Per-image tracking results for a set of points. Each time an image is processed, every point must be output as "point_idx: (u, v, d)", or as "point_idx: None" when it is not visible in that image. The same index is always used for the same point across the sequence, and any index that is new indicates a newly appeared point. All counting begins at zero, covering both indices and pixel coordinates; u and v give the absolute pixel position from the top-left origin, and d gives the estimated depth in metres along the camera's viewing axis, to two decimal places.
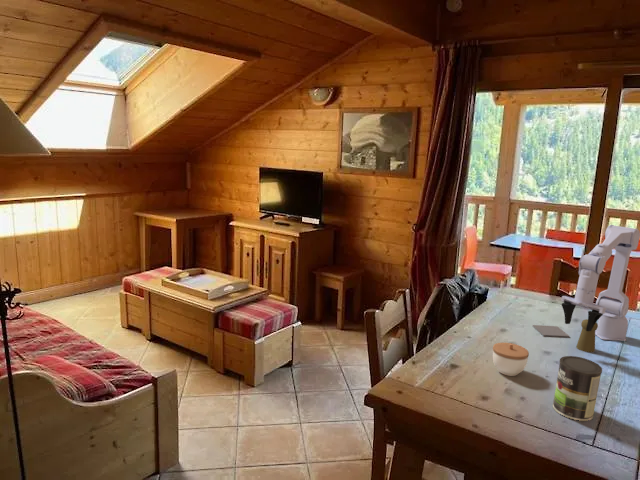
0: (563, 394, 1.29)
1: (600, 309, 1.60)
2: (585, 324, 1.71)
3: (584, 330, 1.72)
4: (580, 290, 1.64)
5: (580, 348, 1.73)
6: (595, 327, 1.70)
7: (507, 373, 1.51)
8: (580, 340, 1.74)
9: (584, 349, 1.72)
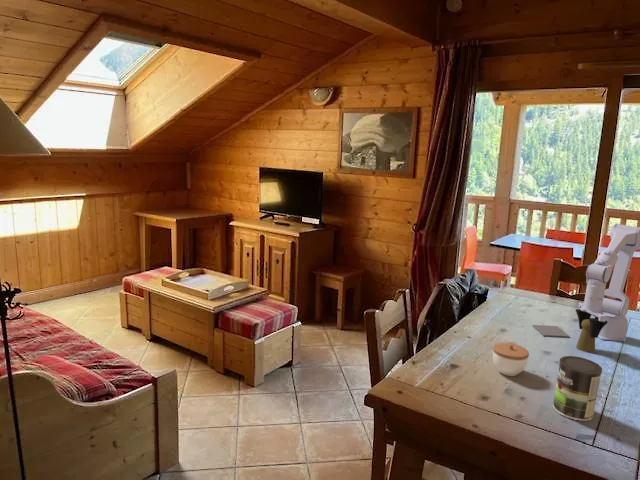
0: (563, 394, 1.29)
1: (599, 317, 1.65)
2: (585, 324, 1.71)
3: (584, 330, 1.72)
4: (585, 297, 1.71)
5: (580, 348, 1.73)
6: None
7: (507, 373, 1.51)
8: (580, 340, 1.74)
9: (584, 349, 1.72)
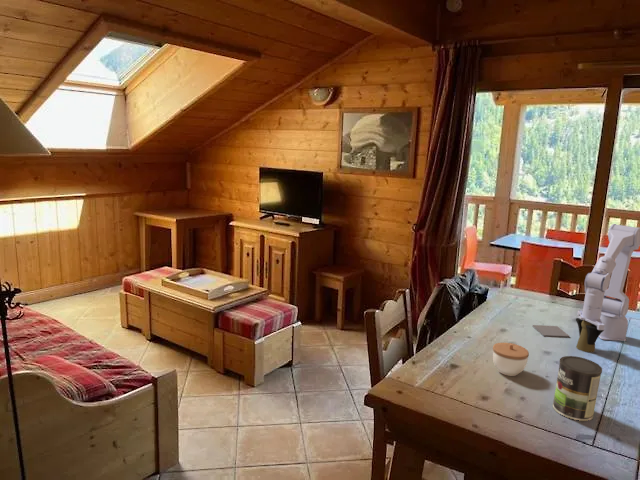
0: (563, 394, 1.29)
1: (597, 325, 1.66)
2: (585, 324, 1.71)
3: (584, 330, 1.72)
4: (584, 306, 1.72)
5: (580, 348, 1.73)
6: None
7: (507, 373, 1.51)
8: (580, 340, 1.74)
9: (584, 349, 1.72)
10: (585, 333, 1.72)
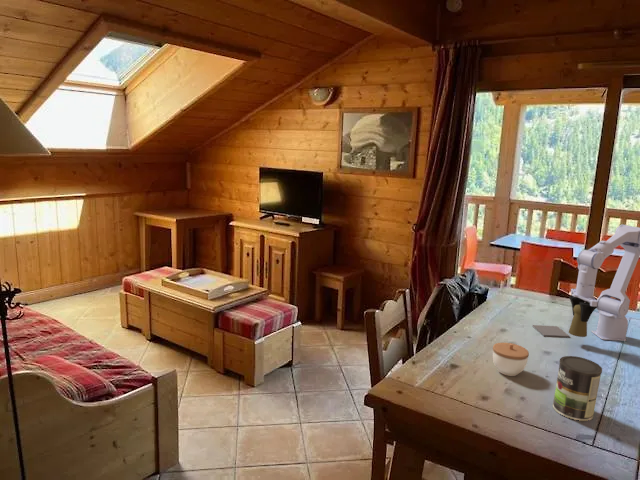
0: (563, 394, 1.29)
1: (590, 302, 1.68)
2: (577, 309, 1.74)
3: (576, 315, 1.75)
4: (577, 283, 1.74)
5: (572, 333, 1.76)
6: None
7: (507, 373, 1.51)
8: (572, 325, 1.76)
9: (576, 334, 1.75)
10: (577, 318, 1.75)
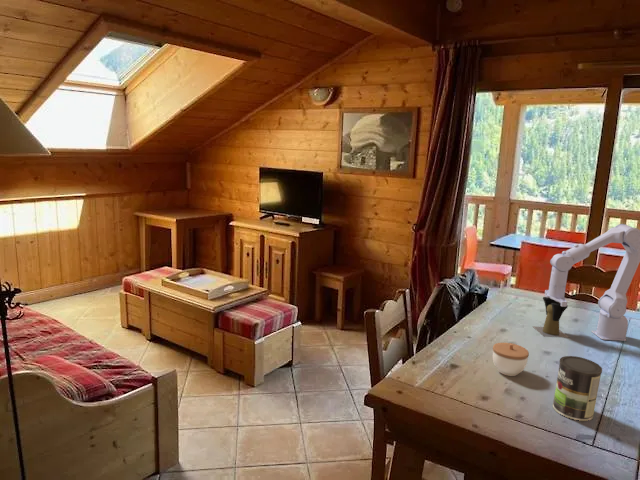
0: (563, 394, 1.29)
1: (561, 302, 1.80)
2: (549, 308, 1.86)
3: (549, 314, 1.87)
4: (549, 285, 1.86)
5: (545, 331, 1.88)
6: None
7: (507, 373, 1.51)
8: (545, 323, 1.88)
9: (549, 332, 1.87)
10: (550, 317, 1.87)
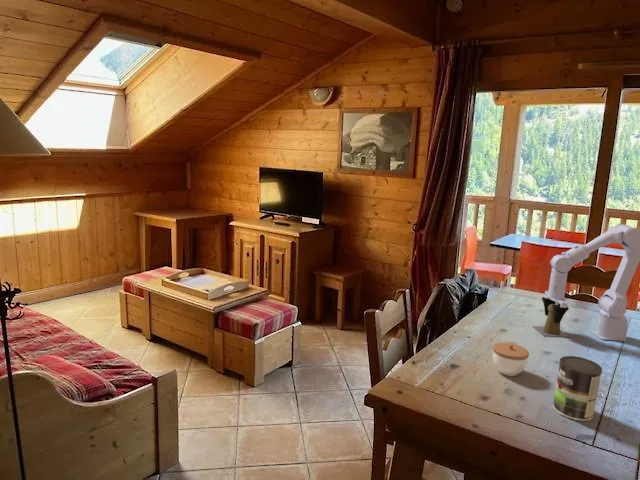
0: (563, 394, 1.29)
1: (560, 304, 1.80)
2: (551, 308, 1.86)
3: (550, 314, 1.87)
4: (549, 286, 1.86)
5: (546, 330, 1.88)
6: None
7: (507, 373, 1.51)
8: (546, 323, 1.88)
9: (550, 331, 1.86)
10: (551, 316, 1.86)
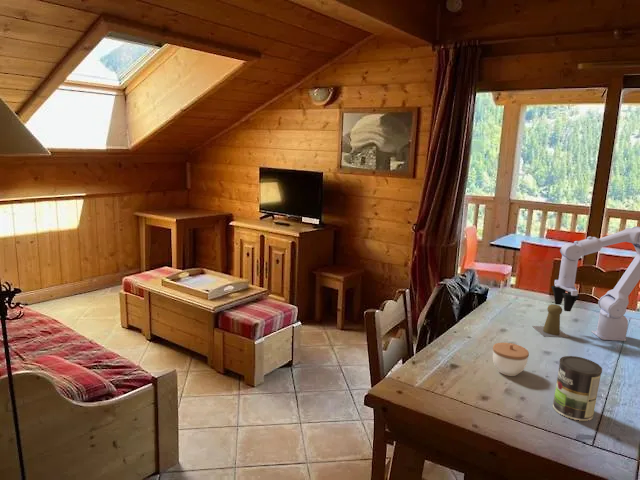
0: (563, 394, 1.29)
1: (571, 291, 1.79)
2: (551, 309, 1.85)
3: (550, 314, 1.86)
4: (559, 274, 1.85)
5: (546, 331, 1.87)
6: (560, 311, 1.84)
7: (507, 373, 1.51)
8: (546, 324, 1.88)
9: (550, 332, 1.86)
10: (551, 317, 1.86)
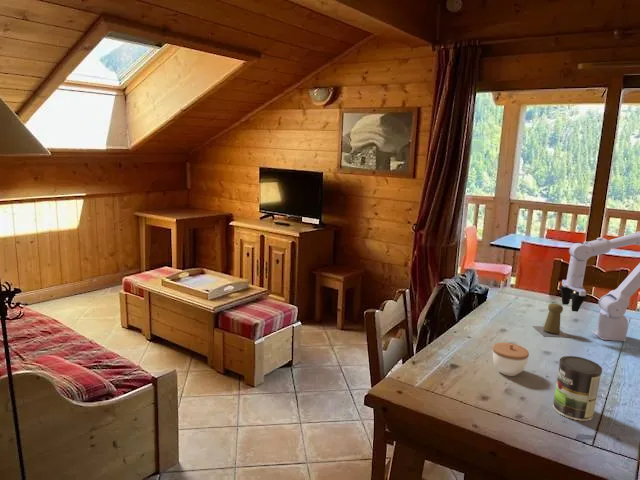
0: (563, 394, 1.29)
1: (579, 292, 1.79)
2: (553, 307, 1.86)
3: (551, 313, 1.87)
4: (567, 274, 1.85)
5: (548, 330, 1.87)
6: (561, 309, 1.86)
7: (507, 373, 1.51)
8: (547, 322, 1.88)
9: (551, 330, 1.86)
10: (552, 315, 1.87)
